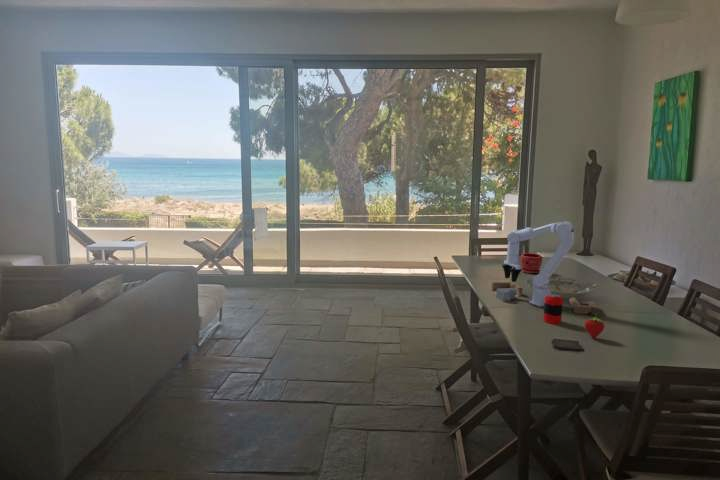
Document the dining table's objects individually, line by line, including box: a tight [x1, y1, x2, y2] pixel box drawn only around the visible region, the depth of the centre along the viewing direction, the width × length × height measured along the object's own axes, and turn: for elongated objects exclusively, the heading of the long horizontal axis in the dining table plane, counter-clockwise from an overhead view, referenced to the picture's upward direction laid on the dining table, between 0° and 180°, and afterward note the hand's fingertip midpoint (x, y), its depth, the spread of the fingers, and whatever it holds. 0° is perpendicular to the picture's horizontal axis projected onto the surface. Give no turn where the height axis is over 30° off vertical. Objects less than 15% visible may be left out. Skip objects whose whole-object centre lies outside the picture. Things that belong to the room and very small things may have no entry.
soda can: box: [542, 293, 564, 325], centre depth 219 cm, size 8×8×12 cm
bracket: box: [495, 288, 517, 303], centre depth 255 cm, size 9×8×5 cm
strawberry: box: [584, 315, 605, 339], centre depth 199 cm, size 6×8×10 cm
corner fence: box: [491, 281, 523, 297], centre depth 268 cm, size 13×11×4 cm
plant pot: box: [520, 252, 543, 274], centre depth 322 cm, size 13×13×12 cm
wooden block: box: [568, 296, 601, 316], centre depth 240 cm, size 4×11×18 cm
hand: (510, 279), depth 256 cm, fingers open, 7 cm apart
